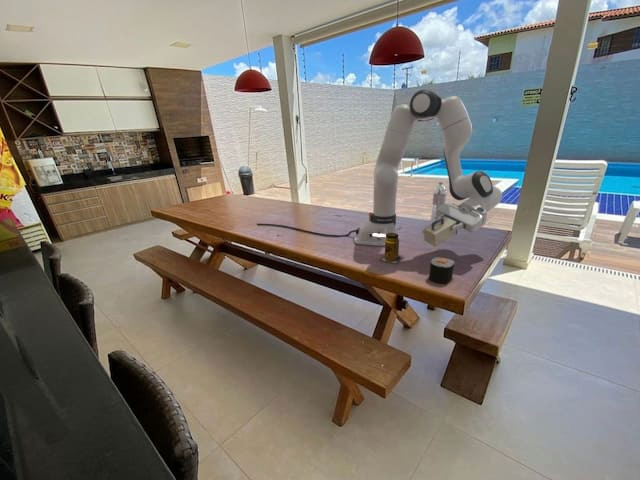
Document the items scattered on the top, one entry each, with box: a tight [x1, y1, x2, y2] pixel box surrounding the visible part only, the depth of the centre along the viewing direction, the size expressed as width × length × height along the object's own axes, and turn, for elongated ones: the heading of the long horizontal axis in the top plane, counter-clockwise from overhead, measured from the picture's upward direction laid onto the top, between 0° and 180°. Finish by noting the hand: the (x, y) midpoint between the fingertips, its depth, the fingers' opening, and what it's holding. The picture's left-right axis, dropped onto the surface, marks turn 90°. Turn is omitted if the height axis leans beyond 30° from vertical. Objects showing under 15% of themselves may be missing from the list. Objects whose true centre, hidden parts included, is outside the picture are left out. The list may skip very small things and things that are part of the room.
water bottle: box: [429, 181, 447, 225], centre depth 171 cm, size 7×7×25 cm
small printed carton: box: [423, 216, 458, 247], centre depth 127 cm, size 12×6×10 cm, turn 115°
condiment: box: [380, 232, 404, 264], centre depth 137 cm, size 7×8×12 cm
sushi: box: [428, 257, 455, 285], centre depth 119 cm, size 8×8×8 cm
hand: (444, 225), depth 128 cm, fingers closed on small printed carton, 6 cm apart
